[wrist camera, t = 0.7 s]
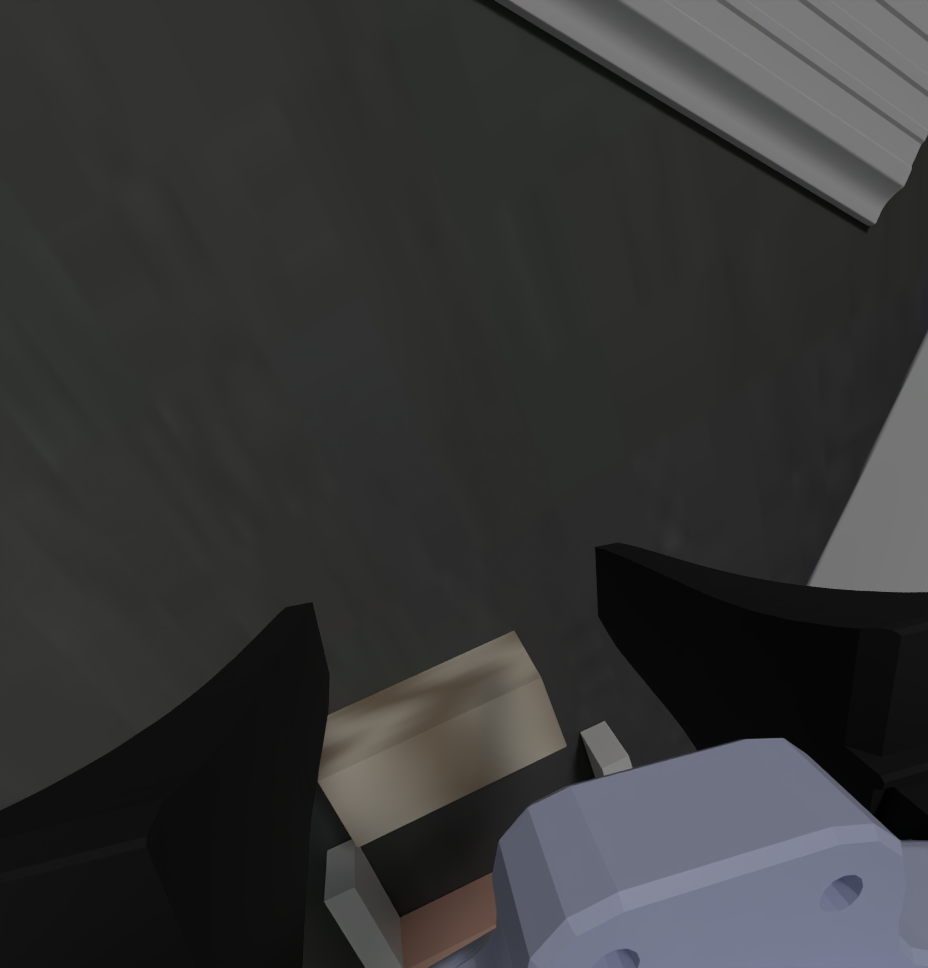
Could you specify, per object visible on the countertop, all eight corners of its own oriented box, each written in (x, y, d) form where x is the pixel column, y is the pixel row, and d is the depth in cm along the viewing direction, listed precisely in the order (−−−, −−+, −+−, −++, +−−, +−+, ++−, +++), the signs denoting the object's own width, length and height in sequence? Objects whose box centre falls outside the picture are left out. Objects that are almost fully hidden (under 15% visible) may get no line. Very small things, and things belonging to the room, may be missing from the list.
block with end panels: (384, 946, 27) (386, 1002, 25) (327, 850, 25) (323, 901, 23) (635, 821, 29) (660, 862, 27) (604, 720, 27) (628, 755, 24)
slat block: (357, 773, 25) (357, 847, 21) (324, 713, 23) (317, 781, 20) (536, 689, 26) (566, 746, 22) (512, 628, 24) (540, 677, 21)
